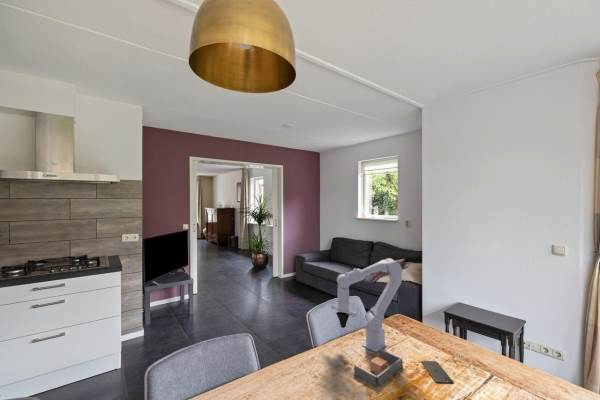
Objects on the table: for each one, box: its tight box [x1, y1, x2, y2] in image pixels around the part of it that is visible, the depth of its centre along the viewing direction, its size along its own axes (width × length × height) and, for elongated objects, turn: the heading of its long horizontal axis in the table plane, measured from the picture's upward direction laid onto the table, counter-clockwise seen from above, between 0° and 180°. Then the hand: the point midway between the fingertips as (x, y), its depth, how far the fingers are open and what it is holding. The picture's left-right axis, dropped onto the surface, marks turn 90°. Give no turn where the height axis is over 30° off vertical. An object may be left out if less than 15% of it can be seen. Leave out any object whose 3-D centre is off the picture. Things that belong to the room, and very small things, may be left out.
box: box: [353, 348, 403, 388], centre depth 114 cm, size 20×11×4 cm, turn 132°
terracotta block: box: [369, 356, 388, 375], centre depth 114 cm, size 5×5×4 cm
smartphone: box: [420, 360, 455, 385], centre depth 113 cm, size 7×1×15 cm
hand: (343, 326), depth 133 cm, fingers closed
